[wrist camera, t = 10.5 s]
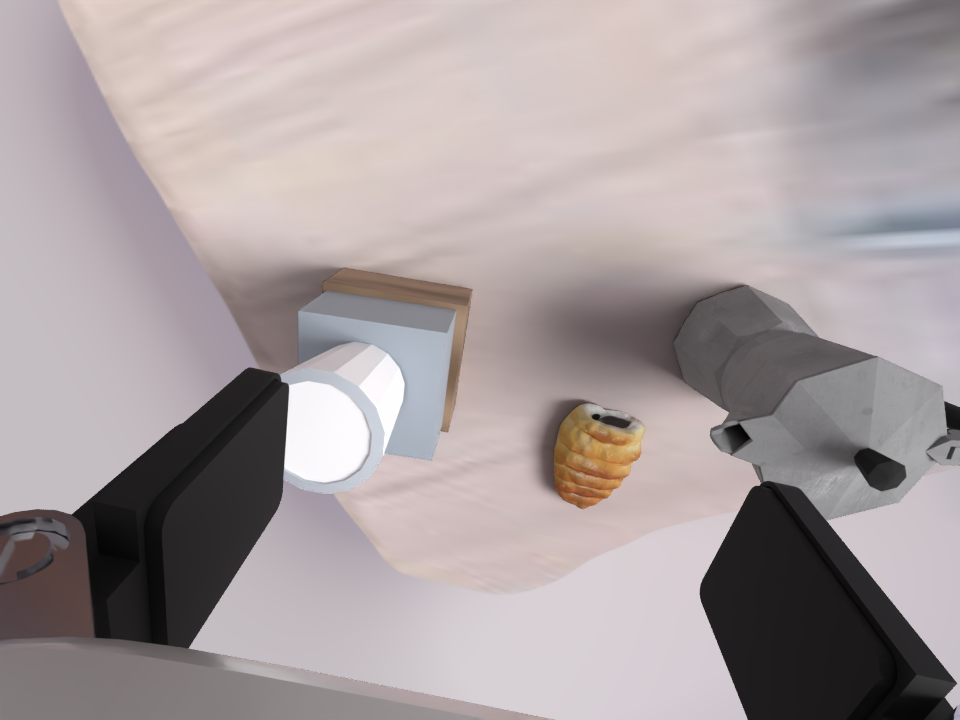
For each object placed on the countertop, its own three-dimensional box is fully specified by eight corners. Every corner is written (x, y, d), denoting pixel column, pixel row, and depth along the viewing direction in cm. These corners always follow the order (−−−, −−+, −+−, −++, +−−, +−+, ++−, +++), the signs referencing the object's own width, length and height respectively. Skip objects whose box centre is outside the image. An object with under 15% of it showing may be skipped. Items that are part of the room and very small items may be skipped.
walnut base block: (345, 267, 40) (322, 282, 35) (472, 288, 40) (466, 306, 35) (338, 383, 43) (317, 410, 39) (455, 402, 43) (448, 432, 39)
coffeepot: (638, 395, 42) (720, 554, 25) (654, 281, 38) (761, 377, 22) (835, 402, 41) (1055, 571, 24) (869, 286, 37) (1153, 390, 21)
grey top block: (327, 290, 35) (298, 310, 31) (456, 309, 35) (447, 333, 31) (324, 406, 39) (297, 440, 34) (442, 424, 39) (432, 460, 34)
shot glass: (428, 354, 31) (401, 397, 24) (397, 449, 33) (364, 513, 27) (320, 315, 31) (264, 348, 24) (296, 413, 33) (237, 468, 26)
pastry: (607, 503, 46) (615, 532, 43) (535, 484, 46) (537, 512, 42) (646, 414, 43) (657, 437, 39) (568, 393, 42) (572, 415, 39)
